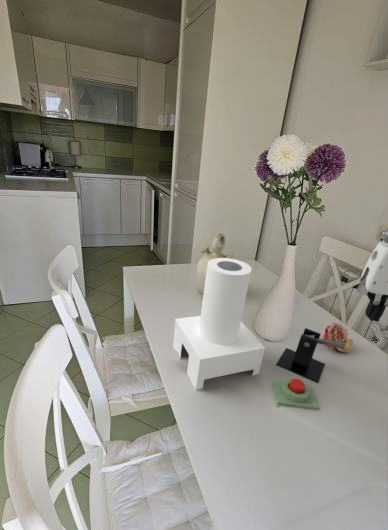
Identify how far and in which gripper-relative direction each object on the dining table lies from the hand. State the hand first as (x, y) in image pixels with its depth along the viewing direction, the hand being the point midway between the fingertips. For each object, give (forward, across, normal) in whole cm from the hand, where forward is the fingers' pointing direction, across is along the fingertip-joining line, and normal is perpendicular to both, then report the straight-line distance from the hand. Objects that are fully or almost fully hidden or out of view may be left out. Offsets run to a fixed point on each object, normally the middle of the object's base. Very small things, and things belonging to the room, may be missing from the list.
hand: (371, 317), depth 69 cm
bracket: (+25, -7, +11) cm, 28 cm away
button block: (+25, -12, -2) cm, 28 cm away
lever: (+15, -3, +9) cm, 18 cm away
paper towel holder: (+25, -33, +9) cm, 43 cm away
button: (+22, -12, -2) cm, 25 cm away
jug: (+25, -34, +55) cm, 69 cm away
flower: (+25, +7, +23) cm, 35 cm away
